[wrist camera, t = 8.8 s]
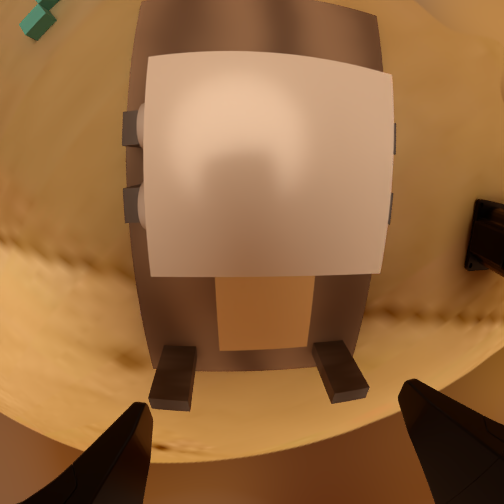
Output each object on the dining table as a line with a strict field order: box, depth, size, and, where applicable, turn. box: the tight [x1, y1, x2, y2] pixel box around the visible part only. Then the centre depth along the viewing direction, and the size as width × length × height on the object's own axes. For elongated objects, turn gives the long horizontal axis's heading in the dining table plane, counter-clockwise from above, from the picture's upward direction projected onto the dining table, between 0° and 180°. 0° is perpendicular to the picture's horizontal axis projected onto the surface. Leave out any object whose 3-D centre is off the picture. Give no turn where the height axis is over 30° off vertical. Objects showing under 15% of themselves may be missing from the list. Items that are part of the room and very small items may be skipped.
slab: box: [143, 51, 394, 277], centre depth 11 cm, size 10×9×2 cm
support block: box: [215, 276, 315, 351], centre depth 16 cm, size 5×5×4 cm
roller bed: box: [122, 0, 396, 411], centre depth 14 cm, size 16×27×6 cm, turn 179°
